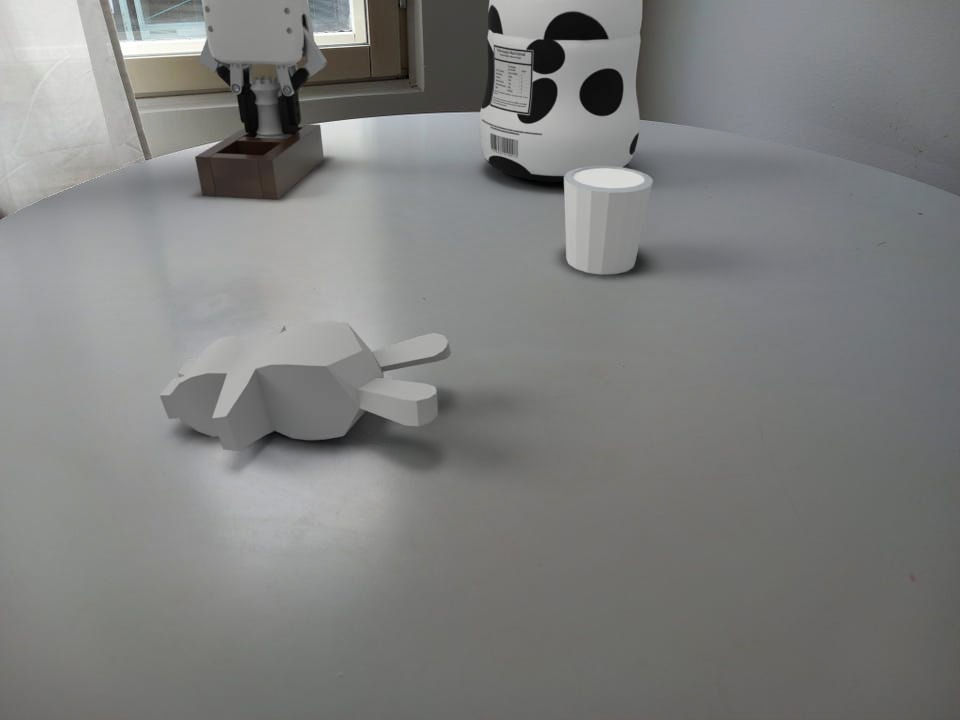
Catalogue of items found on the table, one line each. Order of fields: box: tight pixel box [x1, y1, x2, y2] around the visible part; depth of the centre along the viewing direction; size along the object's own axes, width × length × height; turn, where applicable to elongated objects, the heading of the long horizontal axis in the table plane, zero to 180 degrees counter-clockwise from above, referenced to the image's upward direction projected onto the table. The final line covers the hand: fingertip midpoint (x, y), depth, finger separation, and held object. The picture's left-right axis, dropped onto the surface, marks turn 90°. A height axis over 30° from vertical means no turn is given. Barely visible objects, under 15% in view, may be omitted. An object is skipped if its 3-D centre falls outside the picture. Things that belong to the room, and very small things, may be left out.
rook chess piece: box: [250, 75, 292, 139], centre depth 81 cm, size 4×4×8 cm
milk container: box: [478, 0, 643, 183], centre depth 78 cm, size 17×17×18 cm
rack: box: [194, 123, 325, 200], centre depth 80 cm, size 8×14×4 cm, turn 172°
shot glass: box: [563, 166, 654, 275], centre depth 59 cm, size 7×7×7 cm
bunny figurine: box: [159, 320, 452, 452], centre depth 41 cm, size 10×5×15 cm
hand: (272, 129), depth 81 cm, fingers closed on rook chess piece, 3 cm apart
